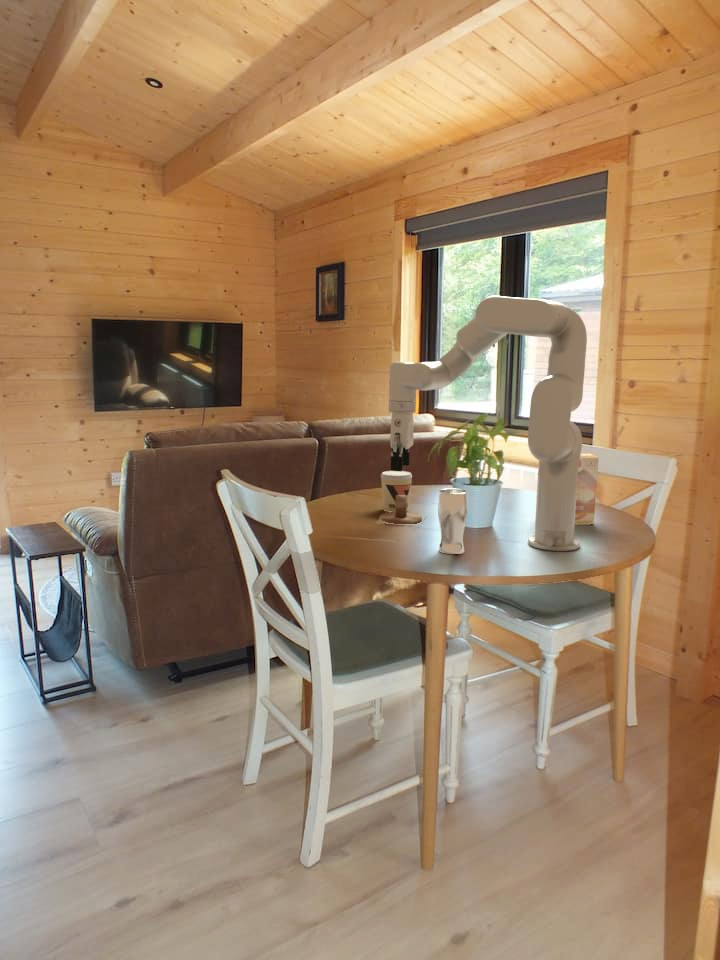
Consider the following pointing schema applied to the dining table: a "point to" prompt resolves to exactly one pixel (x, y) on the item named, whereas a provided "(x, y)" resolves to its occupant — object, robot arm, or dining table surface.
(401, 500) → the lid
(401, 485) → the coffee cup
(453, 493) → the beer glass
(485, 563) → the dining table surface
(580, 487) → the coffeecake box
